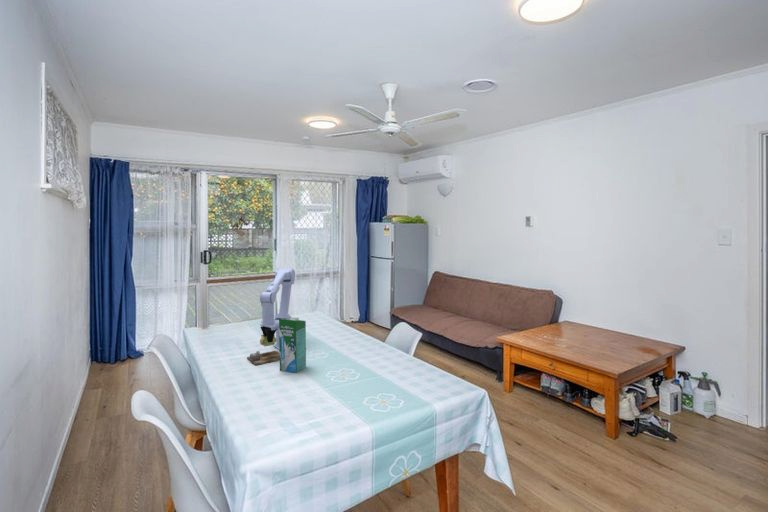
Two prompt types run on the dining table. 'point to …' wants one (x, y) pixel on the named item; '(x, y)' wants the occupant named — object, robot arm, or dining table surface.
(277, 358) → the pipe board
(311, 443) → the dining table surface
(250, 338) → the dining table surface
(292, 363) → the milk carton
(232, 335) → the dining table surface
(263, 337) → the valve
